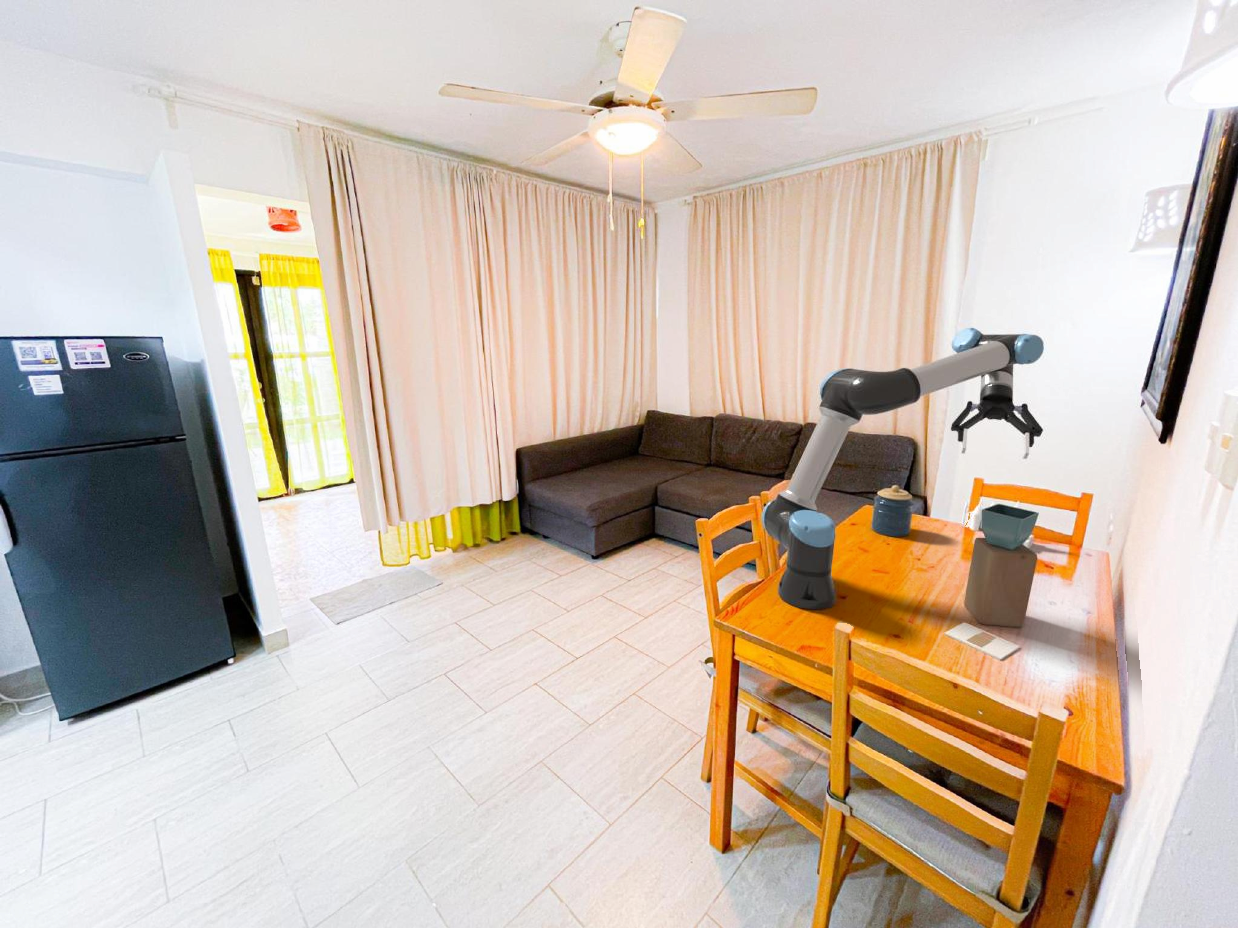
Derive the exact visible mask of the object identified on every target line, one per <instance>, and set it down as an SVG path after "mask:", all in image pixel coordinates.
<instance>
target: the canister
mask: <svg viewBox="0 0 1238 928" xmlns="http://www.w3.org/2000/svg"><path fill="white" fill-rule="evenodd" d="M873 499H874V501H875V502H874V505H873V506H872V508H873V510H872V519H871V522H870V525H871V526H870V527H871V530H873V532H875V533H878V534H880V535H884V536H889V537H895V538H896V537H897V538H902V537H906V536H909V534H910V533H911V530H912V529H911V528H912V527H911V524H912V517H913V514H914V511H913V506H914V505H915V502H914V501H913V500H912V499H913V495H912V494H910V493H909V492H908V491H907V490H904V489H900V486H899V485H896V484H895V485H892V486H891V488H887V487H886V488H883V489H880V490H878V491H877V495H876V496H875V497H874V498H873Z"/></svg>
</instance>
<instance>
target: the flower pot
mask: <svg viewBox="0 0 1238 928" xmlns="http://www.w3.org/2000/svg"><path fill="white" fill-rule="evenodd" d="M981 510H982V529H981V530H982V535H983V534H984V536H983V537H984V538H986V540H987V542H988V543H989V544H992V545H995V546H999V547H1002V548H1006V549H1009V550H1013V549H1015V548H1017V547H1019V546H1021V545H1022V544H1023V543H1024V542H1025V541H1026V540H1027V539H1028V538H1029V536H1030V535H1032V533H1033V531H1034V529H1035V525H1036V523H1037V520H1038V518H1039V514H1040V513H1039V511H1038V512H1036V511H1033V510H1029V509H1024V508H1021V507H1020V508H1016V507H1014V506H1010V505H1007V504H1003V503H1002V504H1001V503H995V505H993V506H990V505H989V506H988V507H985V508H981Z"/></svg>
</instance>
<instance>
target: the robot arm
mask: <svg viewBox="0 0 1238 928" xmlns="http://www.w3.org/2000/svg"><path fill="white" fill-rule="evenodd" d="M951 348H952V350H953V351H954V352H956V353H955V354H952V355H951V354H950V355H949V356H946V357H943V358H940V359H936V360H934V361H931V362H928V363H926V364H922V365H920V366H917V367H913V368H909V367H901V368H899V369H896V370H890V371H873V370H863V369H857V368H841V369H837V370H834V371H832V372H831V373H829V374H828V375H827V376H826V377H825V378H824V379H823V381H822V382H821V385H820V388H819V395H820V400H821V402H820V404H819V407H818V410H819V413H820V417H819V419H818V421H817V423H816V426H815V427H814V430H813V432H812V434H811V435H810V438H809V440H808V443H807V445H806V447H805V449H804V451H803V454H802V455H801V458H800V460H799V462H798V464H797V466H796V468H795V471H794V472H793V474H792V476H791V478H790V481H789V482H788V485H787V486H786V489H784V490H782V491H779V492H778V494H777V496H776V498H774V499H772V500H771V501H768V502H767V503H766V505H765V506H764V508H763V510H762V512H761V524H762V527H763V529H764V530H765V532H766V533H767V534H768V535H769V536H770V537H771V538H772V539H773V540H775V542H776V541H777V542H778V543H779V544H780V545H781V546H783V548H785V549H786V551H787V556H786V557H787V558H786V567H785V569H784V572H783V574H782V575H781V578H780V580H779V583H778V585H777V586H778V588H777V594H778V596H779V598H781V600H783V601H784V602H785V603H787V604H789V605H791V606H794V607H797V608H801V609H806V610H814V611H815V610H816V611H817V610H826V609H829V608H831V607H832V606H834V605H835V603H836V600H837V599H836V597H837V594H836V593H837V592H836V589H835V586H834V581H833V576H832V567H833V559H834V558H833V557H834V550H835V549H834V548H835V540H836V537H837V536H836V524H835V522H834V521H833V520H832V518H831V517H829V516H828V515H827V514H824V513H822V512H818V511H817V510H818V508H817V505H816V503H815V502H816V500H817V497H818V495H819V493H820V491H821V489H822V487H823V484H825V483H824V482H825V481H826V479H827V477H828V474H829V473H830V471H831V468H832V466H833V464H834V462H835V459H837V456H838V453H839V451H840V450H841V447H842V446H843V443H844V441H845V439H846V437H847V435H848V433H849V431H850V429H851V427H853V426H854V425H856V424H859V423H860V422H861V419H862V417H863V415H866V416H867V415H869V416H872V415H879V414H884V413H888V412H891V411H894V410H898V409H901V408H903V407H906V406H910V405H912V404H916V403H917V402H918V401H920V399H921V397H923V396H926V395H929V394H932V393H935V392H937V391H940V390H944V389H947V388H949V387H952V386H954V385H955V386H956V385H958V384H960V383H964V382H966V381H969V380H972V379H974V378H978V377H980V393H979V403H974V402H973V401H971V400H969V401H967V404H966V406H965V408H964V409H963V411H961V413H960V414H959V415H958V416H957V417H956V418H955V420H954V421H953V422H952V424H951V426H950V431H952V432H957V441H958V442H961V454H966V450H967V444H968V443H967V442H968V430H969V429H970V428H972V427H973V426H974V425H976V424H977V423H979V422H982V421H983V420H984V419H987V420H996V421H1002V420H1004V421H1005V422H1006V423H1008V424H1010V425H1011V426H1013V427H1014V428H1015V429H1016V430H1018V431H1019V433H1021V434H1023V435H1024V436H1023V437H1022V459H1028V456H1029V455H1030V448H1032V447H1033V446H1034V444H1035V437H1037V438H1039V437H1041V436H1042V434H1043V431H1044V428H1042V426H1041V425H1040V423H1039V422H1038V420H1036V418H1035V417H1034V415H1033V414H1032V413H1031V411H1030V410H1029V408H1028V407H1029V406H1028V403H1022V404H1021V405H1015V404H1014V394H1013V393H1014V365H1017V364H1018V365H1030V364H1034V363H1036V362H1037V361H1039V359H1040V358H1041V357H1042V355H1043V353H1044V350H1045V347H1044V341H1043V339H1042V338H1041V337H1040V336H1039V335H1037V334H1029V333H1021V334H1020V333H1019V334H1018V333H1017V334H1015V333H1013V334H1012V333H1010V334H1009V333H1008V334H1007V333H1006V334H985V333H984V334H983V333H982V331H980V330H978V329H976V328H974V327H967V328H965V329H963V330H960V331H959V332H958V333H957V334H956V335H955V337H954V338H953V340H952V342H951ZM975 410H977V411H978V412H977V413H976V414H974V415H973V416H972V417H970V418H969V419H967V418H968V416H969V415H970V414H971V412H974V411H975ZM1015 412H1017V414H1018V415H1020V417H1021V418H1019V416H1017V415H1016V413H1015ZM965 419H967V420H966V421H965Z"/></svg>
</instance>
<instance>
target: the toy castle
mask: <svg viewBox="0 0 1238 928" xmlns="http://www.w3.org/2000/svg"><path fill="white" fill-rule="evenodd" d="M968 502H969V501H965V505H964V509H963V514H962V520H961V521H962V522H961V526H962V527H966V528H968V527H969V528H968V529H970V530H972V531H974V532H975V531H976V532H978V531H979V530H980V529H981V530H982V509H983V508H982V507H983V498H981V499H980V502H979V503H978V504H977V505H976V507H975V509H974V510H972V511H968V508H969V504H968ZM1015 503H1016V504H1015V505H1014V506H1013V507H1016V508H1021V504H1020V500H1017V502H1015ZM993 505H996V503H995V500H994V501H992V503H991V504H990V505H989V507H990V506H993ZM969 513H970V519H969V520H968V516H969ZM967 522H968V523H967ZM966 523H967V525H966ZM965 525H966V526H965ZM982 536H983V537H985V536H984V534H983V533H982ZM1034 538H1035V535H1033V534H1031V535H1030V536H1029V538H1028V539H1027V540H1026V541H1025V542H1024V543H1023V545H1024V546H1026V547H1027V548H1029V549H1030V548H1031V547H1032V545H1033V544H1034V542H1033V541H1034Z"/></svg>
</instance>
